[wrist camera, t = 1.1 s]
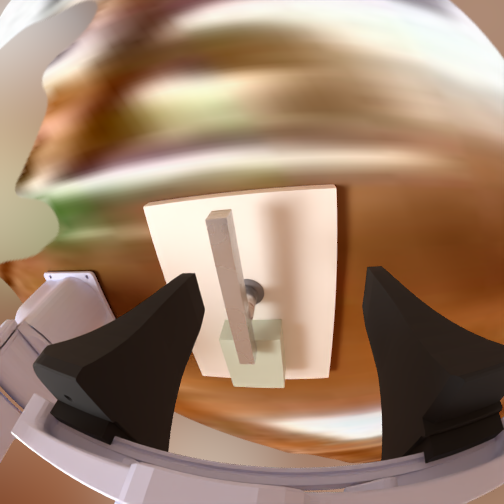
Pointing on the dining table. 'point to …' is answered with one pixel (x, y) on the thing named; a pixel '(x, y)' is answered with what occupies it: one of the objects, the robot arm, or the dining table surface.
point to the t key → (233, 283)
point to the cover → (257, 356)
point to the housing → (260, 266)
